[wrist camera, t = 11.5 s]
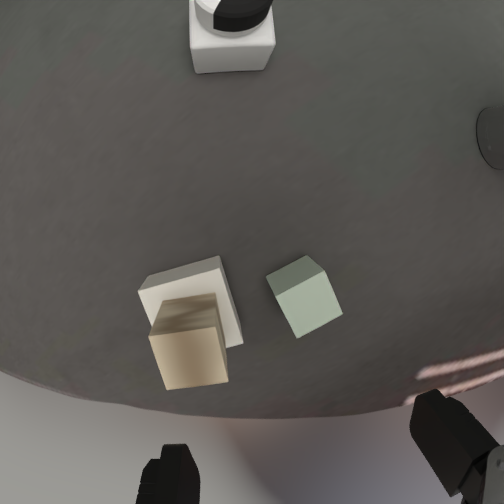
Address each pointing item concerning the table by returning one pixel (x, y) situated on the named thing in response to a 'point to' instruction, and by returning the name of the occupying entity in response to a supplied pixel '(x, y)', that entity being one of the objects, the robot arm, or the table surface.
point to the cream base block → (194, 292)
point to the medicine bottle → (230, 34)
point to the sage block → (304, 295)
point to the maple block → (190, 342)
